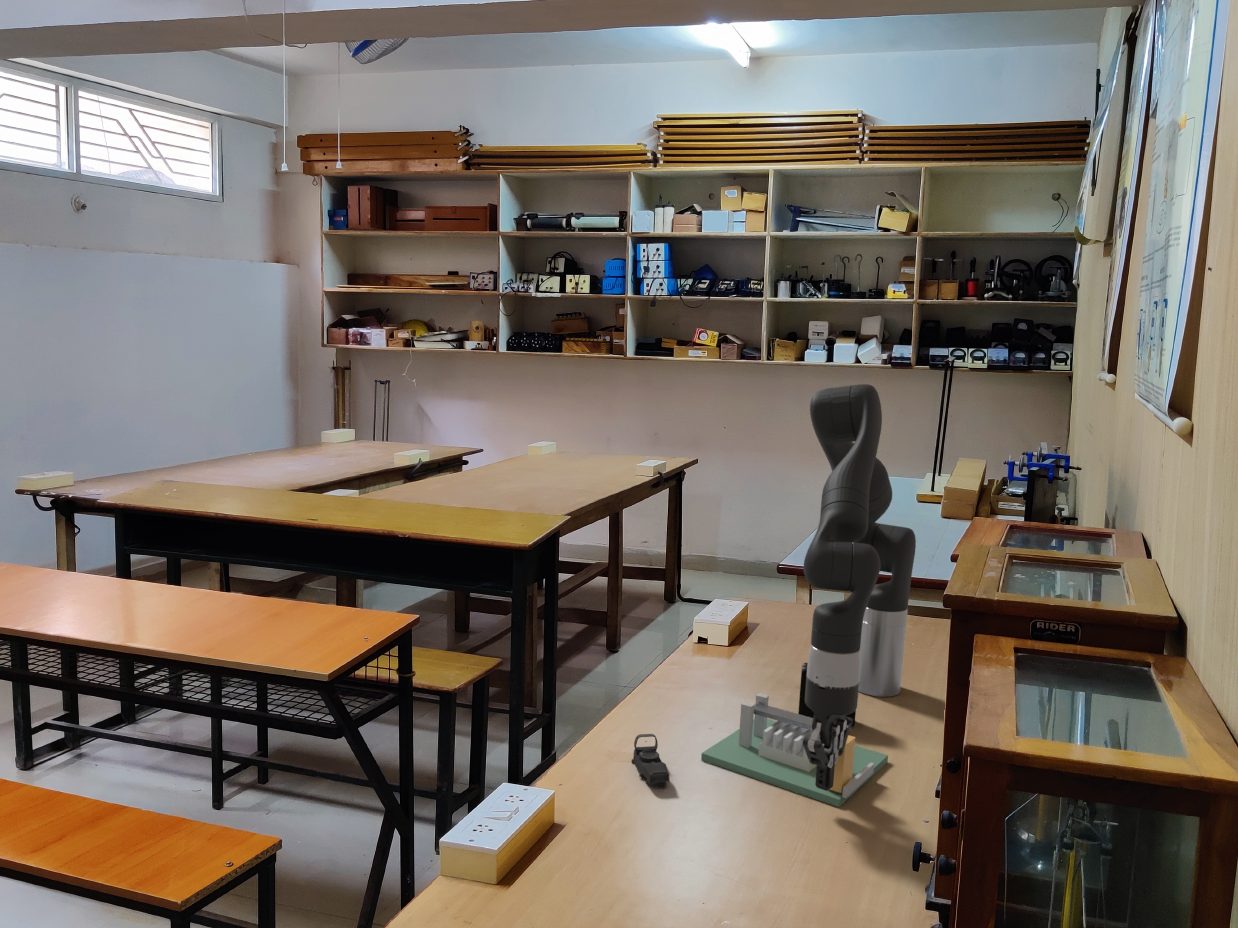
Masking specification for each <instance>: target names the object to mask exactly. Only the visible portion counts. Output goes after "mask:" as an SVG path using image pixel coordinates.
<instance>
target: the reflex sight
mask: <svg viewBox="0 0 1238 928" xmlns="http://www.w3.org/2000/svg"><path fill="white" fill-rule="evenodd" d="M651 737H653V738H654V740H655V744H654V745H652V746H637V743H638V741H639V739H640V738H651ZM645 743H647V740H645ZM633 747H634V749H633V757H632V759H631V763H632V764H634V766H635V768H636V771H637V772H638V776H639V778H641V780H646V781H645V783H646V785H647V786H649V787H651V788H659V789H666V787H667V784H668V782H670V772H669V770H668V767H667V764H666V763H665V762H663V761H662V760H661V758H660V753H659V752H657V749H658V739H657V737H656V735H655V734H653V733H643V734H640V733H639V734H637V735H636V736H635V738H634V742H633Z"/></svg>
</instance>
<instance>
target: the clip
mask: <svg viewBox="0 0 1238 928" xmlns="http://www.w3.org/2000/svg"><path fill="white" fill-rule="evenodd" d="M855 745H856V736H852V735H848V738H847V741H846V744H845V747H844V750H843V754H842V755H841V756H839V755H838V761H837V763H836V764H834V765H835V769H834V782H833V787H832V788H830V790H833V791H836V792H839V793H842V792H843V787H844V786H845V785H846V784H847V783H848V782H849V781H851V780H852V773H853V761H854V749H855Z"/></svg>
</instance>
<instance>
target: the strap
mask: <svg viewBox="0 0 1238 928" xmlns="http://www.w3.org/2000/svg"><path fill="white" fill-rule="evenodd" d="M755 703H756V702H755ZM755 703H754V704H753V705H754V715H755V714H756V715H760V716H763V717H767V719H770V720H773V721H776V722H777V721H781V722H784V723H787V724H791V725H794V726H798V727H801V728H805V729H808V730H811V723H812V720H813V718H811V717H807V716H803V715H800V714H798V713H796V712H792V711H789V710H786V709H781V708H779V707H775V706H771V705H769V704H768V705H764V704H762V703H761V702H757V703H756V704H755Z"/></svg>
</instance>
